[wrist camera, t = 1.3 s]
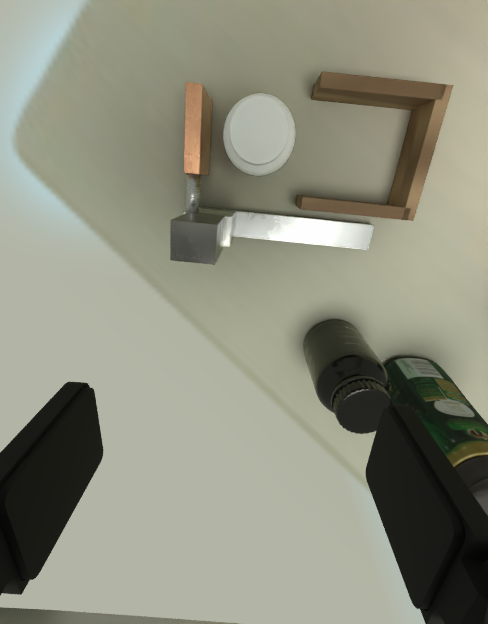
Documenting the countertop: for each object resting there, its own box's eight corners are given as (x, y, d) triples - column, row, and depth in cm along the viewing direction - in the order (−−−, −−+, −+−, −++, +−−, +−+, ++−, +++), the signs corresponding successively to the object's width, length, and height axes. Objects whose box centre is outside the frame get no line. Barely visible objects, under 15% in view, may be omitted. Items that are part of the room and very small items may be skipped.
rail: (198, 206, 32) (195, 207, 31) (370, 223, 32) (374, 225, 31) (197, 230, 33) (195, 232, 32) (364, 247, 33) (368, 249, 32)
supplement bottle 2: (342, 376, 39) (376, 454, 28) (293, 356, 38) (308, 428, 27) (373, 331, 36) (423, 397, 25) (321, 308, 36) (350, 366, 25)
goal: (313, 86, 28) (322, 71, 24) (426, 97, 28) (453, 85, 24) (295, 205, 31) (300, 209, 28) (394, 216, 32) (413, 220, 28)
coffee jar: (422, 421, 41) (539, 592, 24) (362, 414, 41) (437, 581, 24) (449, 357, 37) (611, 507, 20) (383, 349, 37) (490, 493, 20)
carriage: (198, 100, 28) (160, 46, 17) (244, 105, 28) (237, 54, 17) (194, 231, 32) (161, 259, 21) (234, 235, 32) (222, 265, 21)
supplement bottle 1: (225, 117, 29) (211, 88, 20) (284, 106, 28) (298, 71, 19) (235, 180, 31) (226, 181, 22) (290, 171, 30) (305, 168, 21)
